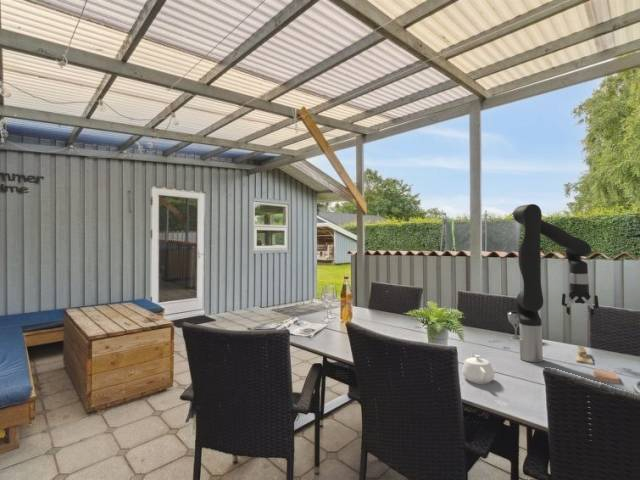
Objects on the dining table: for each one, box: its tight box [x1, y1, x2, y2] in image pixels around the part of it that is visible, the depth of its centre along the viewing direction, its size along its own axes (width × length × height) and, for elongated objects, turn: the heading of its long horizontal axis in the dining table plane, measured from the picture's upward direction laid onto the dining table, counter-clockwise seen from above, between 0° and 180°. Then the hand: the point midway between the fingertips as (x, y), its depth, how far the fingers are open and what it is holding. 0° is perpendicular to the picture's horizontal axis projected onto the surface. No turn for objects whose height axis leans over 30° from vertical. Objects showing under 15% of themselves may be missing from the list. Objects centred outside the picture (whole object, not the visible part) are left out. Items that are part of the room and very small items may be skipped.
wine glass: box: [507, 310, 520, 340], centre depth 198 cm, size 8×8×15 cm
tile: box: [592, 368, 620, 385], centre depth 138 cm, size 7×2×8 cm
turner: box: [574, 345, 594, 365], centre depth 162 cm, size 6×16×4 cm, turn 147°
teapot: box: [461, 353, 495, 385], centre depth 141 cm, size 20×12×10 cm, turn 170°
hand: (579, 315), depth 164 cm, fingers open, 8 cm apart
